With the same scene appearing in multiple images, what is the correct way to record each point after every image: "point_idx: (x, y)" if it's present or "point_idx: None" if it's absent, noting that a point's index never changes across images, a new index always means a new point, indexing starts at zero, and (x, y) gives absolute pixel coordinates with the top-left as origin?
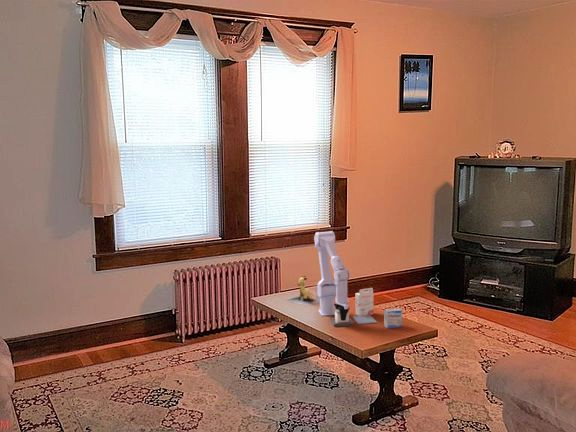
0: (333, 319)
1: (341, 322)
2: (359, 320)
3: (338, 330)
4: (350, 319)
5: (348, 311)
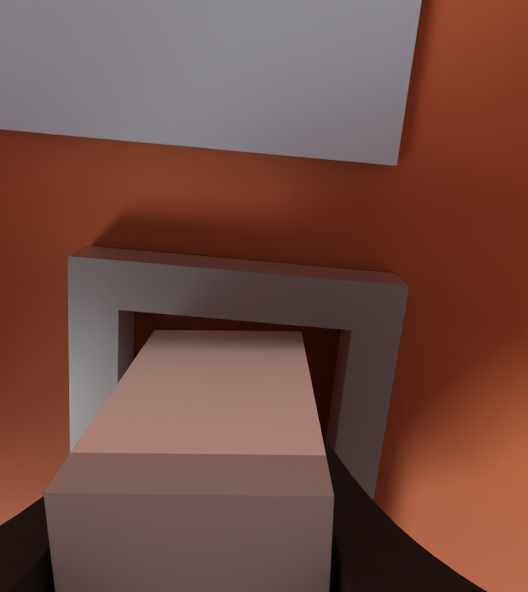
0: None
1: None
2: (233, 73)
3: (522, 573)
4: (217, 284)
5: (330, 486)
